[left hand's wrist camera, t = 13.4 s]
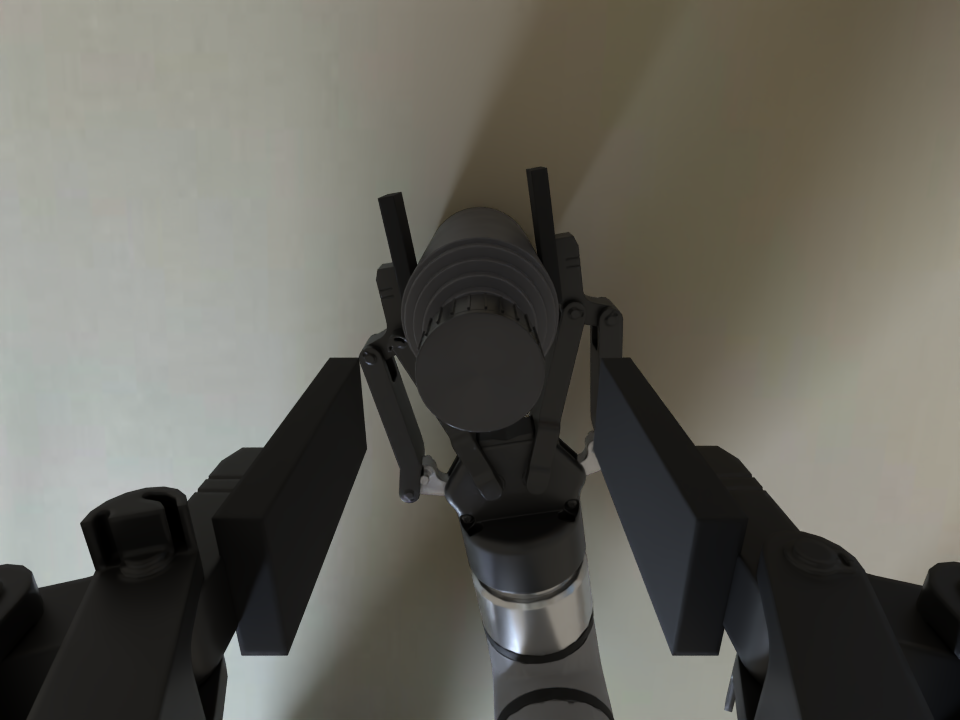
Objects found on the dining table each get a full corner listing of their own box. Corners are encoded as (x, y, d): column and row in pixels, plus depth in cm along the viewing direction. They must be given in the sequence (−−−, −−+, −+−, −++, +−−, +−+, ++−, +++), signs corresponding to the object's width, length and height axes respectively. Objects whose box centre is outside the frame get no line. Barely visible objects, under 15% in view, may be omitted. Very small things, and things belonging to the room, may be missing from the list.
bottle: (483, 329, 35) (485, 494, 18) (407, 263, 34) (332, 376, 17) (552, 257, 34) (628, 364, 16) (476, 183, 32) (472, 218, 15)
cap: (483, 424, 19) (484, 457, 17) (396, 353, 18) (386, 379, 16) (564, 346, 18) (574, 371, 16) (476, 266, 17) (475, 282, 15)
